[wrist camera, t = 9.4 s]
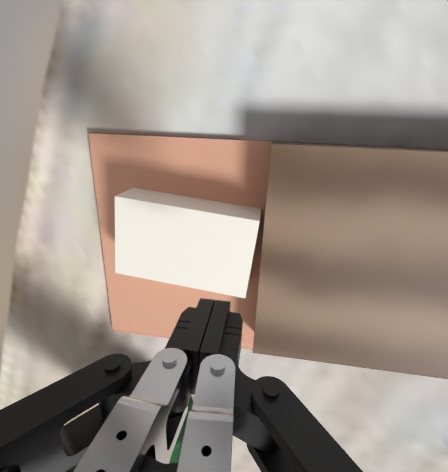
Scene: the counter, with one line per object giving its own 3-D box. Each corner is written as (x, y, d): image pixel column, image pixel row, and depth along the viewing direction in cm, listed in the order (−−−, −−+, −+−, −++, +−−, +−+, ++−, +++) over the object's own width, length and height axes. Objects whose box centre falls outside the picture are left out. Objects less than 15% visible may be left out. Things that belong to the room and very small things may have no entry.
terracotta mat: (91, 133, 22) (88, 133, 22) (271, 141, 21) (271, 141, 20) (114, 327, 29) (112, 330, 28) (252, 346, 27) (252, 349, 27)
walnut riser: (271, 141, 21) (271, 143, 18) (562, 154, 18) (614, 160, 16) (254, 328, 26) (252, 352, 24) (474, 356, 24) (500, 386, 21)
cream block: (133, 187, 23) (114, 196, 20) (261, 208, 22) (259, 221, 19) (132, 256, 25) (115, 272, 22) (248, 278, 24) (245, 298, 21)
